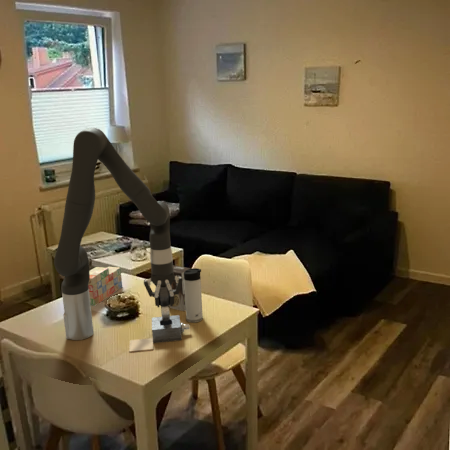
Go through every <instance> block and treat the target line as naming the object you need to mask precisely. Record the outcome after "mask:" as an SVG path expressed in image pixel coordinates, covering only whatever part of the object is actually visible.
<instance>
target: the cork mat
mask: <svg viewBox="0 0 450 450" xmlns="http://www.w3.org/2000/svg"><path fill="white" fill-rule="evenodd" d="M128 346H129V350H128V352H129V353H135V352H147V351H153V350H154V343H153V337H149V338H140V339H139V338H138V339H130V340H129V345H128Z"/></svg>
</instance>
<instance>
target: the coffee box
mask: <svg viewBox="0 0 450 450" xmlns="http://www.w3.org/2000/svg"><path fill="white" fill-rule="evenodd" d="M188 269H192V268H191V267H185V266H180V265H174V264H173V273H174V275H175V276H177V277H180V276H181V277H182V284H181V287H180V291H179V294H176V295H174V304H173V305H172V306H170V305H169V309H171V310H177V311H180V312H181V311H182V312H186V306H185V289H184V272H185V271H186V270H188ZM176 285H177V283H176V280H174V281H173V283H172V284H171V286H172V289H173V290H175V289H176Z"/></svg>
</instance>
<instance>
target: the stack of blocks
mask: <svg viewBox="0 0 450 450" xmlns="http://www.w3.org/2000/svg"><path fill="white" fill-rule="evenodd" d="M89 274H90V279H89V284H88V287H89V296H90V305H91V306H97V305H98V304H99V303H101V302H102V301H104V300H105V299H107V298H108V297H110V296H111V295H113V294H114V293H116V292H117V291H118V290H120V289H122V287H123V281H122V280H123V279H122V278H123V277H122V272H121V267H118V266H117V267H116V266H107V267H101V266H100V267H99V266H96V267H94V268H92V269H89Z"/></svg>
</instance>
